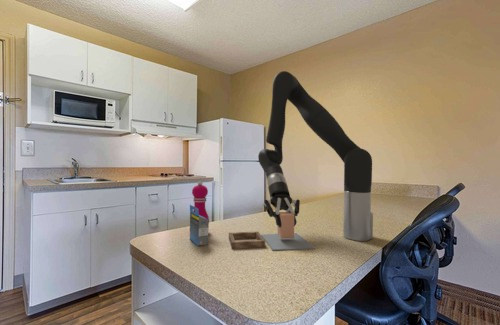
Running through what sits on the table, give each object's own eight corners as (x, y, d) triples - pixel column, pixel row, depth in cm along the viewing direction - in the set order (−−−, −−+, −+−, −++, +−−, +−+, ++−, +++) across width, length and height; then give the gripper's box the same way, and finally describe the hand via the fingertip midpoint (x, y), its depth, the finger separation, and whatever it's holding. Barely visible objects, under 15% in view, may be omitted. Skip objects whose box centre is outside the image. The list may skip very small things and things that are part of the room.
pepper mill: (212, 231, 96) (213, 181, 96) (199, 236, 90) (200, 182, 90) (199, 228, 100) (199, 180, 100) (185, 233, 94) (186, 181, 94)
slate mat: (296, 234, 95) (296, 233, 95) (314, 248, 79) (314, 247, 79) (261, 235, 92) (261, 234, 92) (272, 250, 77) (272, 249, 77)
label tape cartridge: (209, 244, 82) (209, 207, 82) (197, 246, 80) (198, 208, 79) (199, 237, 89) (199, 203, 89) (188, 239, 87) (189, 204, 87)
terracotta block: (289, 234, 88) (289, 212, 88) (294, 238, 84) (294, 214, 84) (277, 234, 88) (277, 212, 88) (281, 238, 83) (281, 215, 83)
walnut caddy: (258, 236, 91) (258, 231, 91) (265, 247, 80) (265, 241, 80) (228, 238, 89) (228, 232, 89) (231, 248, 78) (231, 242, 78)
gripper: (261, 180, 92) (269, 220, 80) (297, 180, 95) (310, 219, 83) (258, 193, 97) (265, 232, 86) (292, 192, 100) (303, 230, 88)
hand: (287, 225), depth 84 cm, fingers closed on terracotta block, 4 cm apart
